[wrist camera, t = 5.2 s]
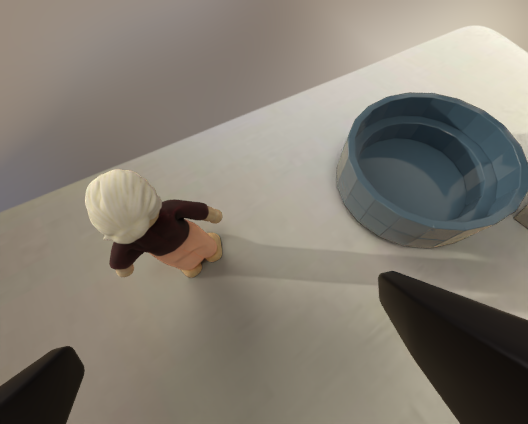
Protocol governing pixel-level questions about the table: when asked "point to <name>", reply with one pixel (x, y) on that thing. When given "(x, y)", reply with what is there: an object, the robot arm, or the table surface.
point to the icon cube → (523, 217)
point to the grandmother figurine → (150, 224)
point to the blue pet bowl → (430, 170)
